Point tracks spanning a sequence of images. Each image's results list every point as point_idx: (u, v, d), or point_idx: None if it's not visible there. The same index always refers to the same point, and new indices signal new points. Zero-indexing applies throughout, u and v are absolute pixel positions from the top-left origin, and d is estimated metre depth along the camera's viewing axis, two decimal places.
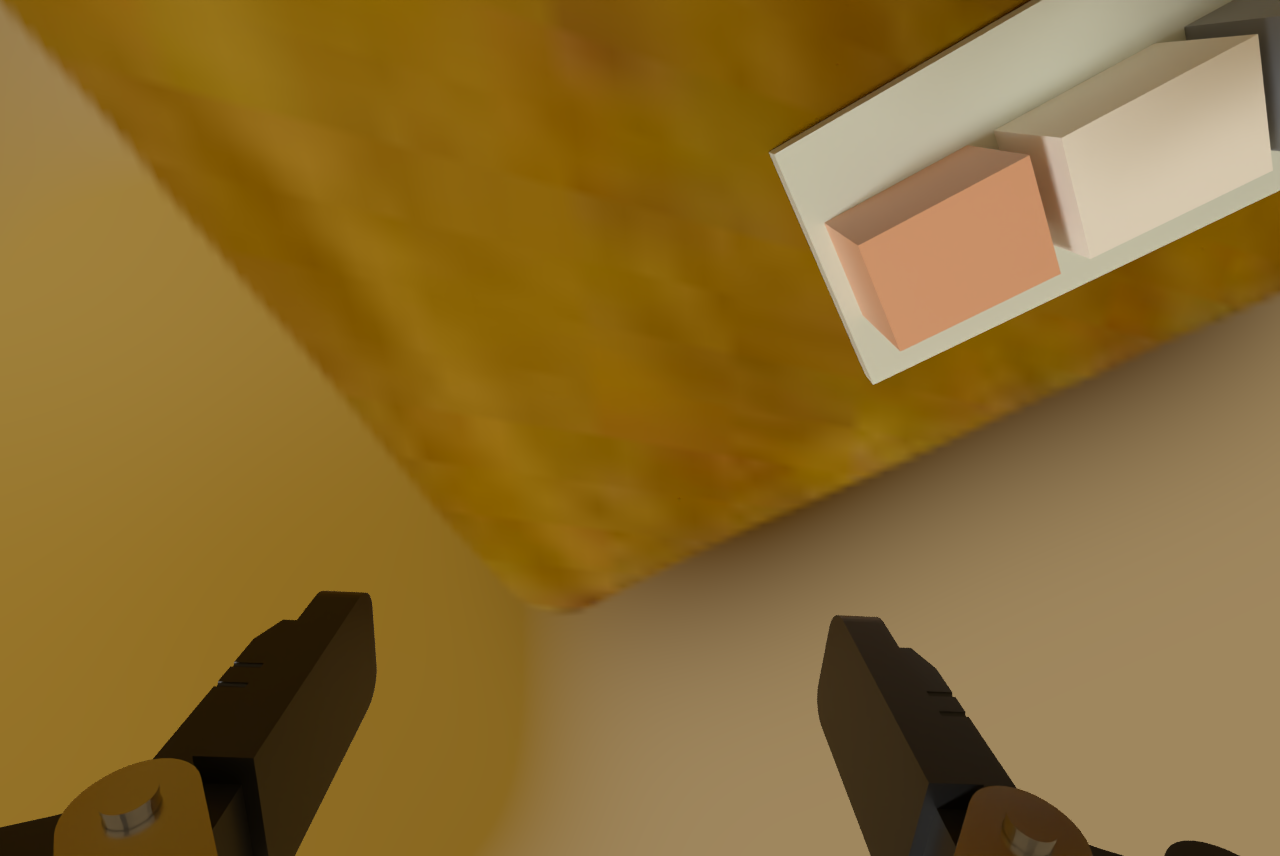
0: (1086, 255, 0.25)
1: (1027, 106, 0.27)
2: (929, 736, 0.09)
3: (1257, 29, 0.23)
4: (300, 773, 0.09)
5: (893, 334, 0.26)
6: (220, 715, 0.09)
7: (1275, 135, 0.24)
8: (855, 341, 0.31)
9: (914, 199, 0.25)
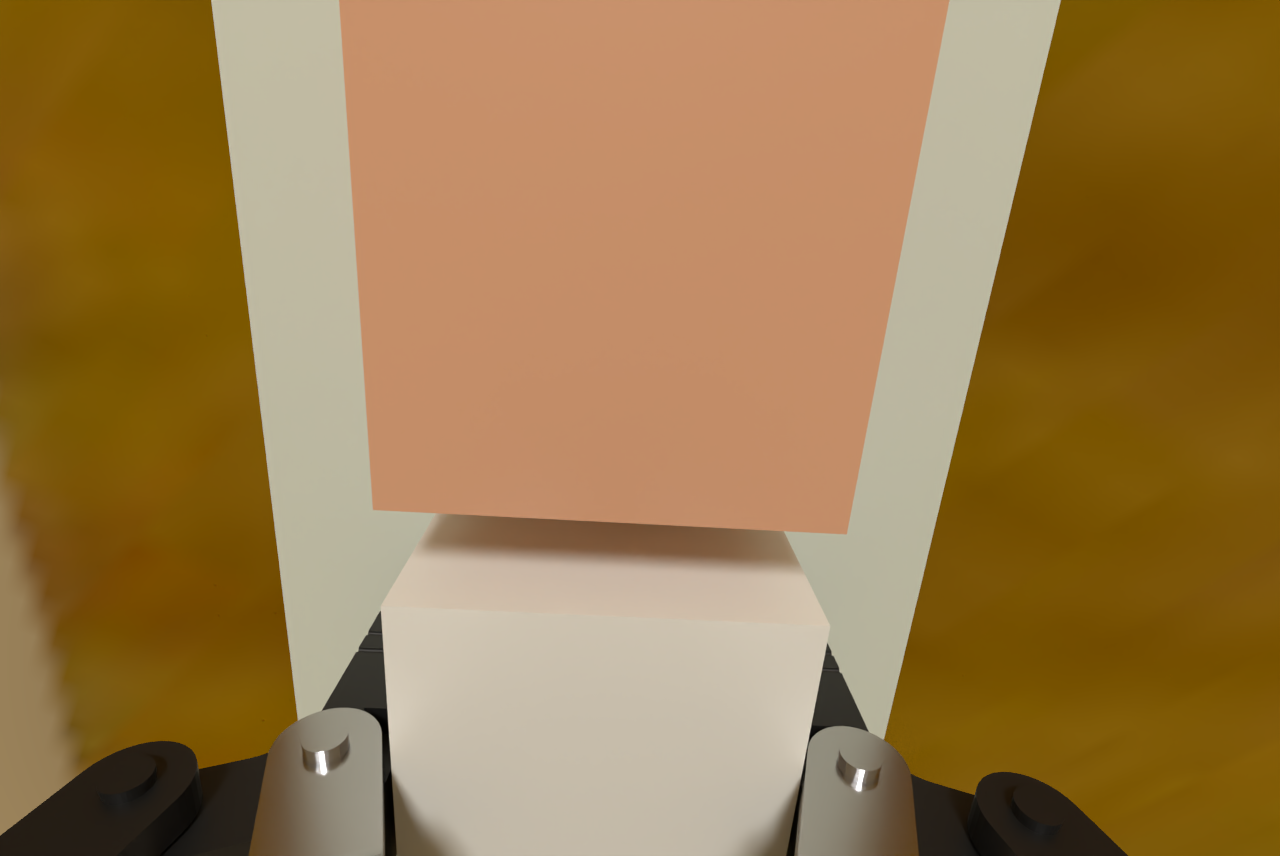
0: (396, 594, 0.07)
1: None
2: None
3: None
4: None
5: None
6: (368, 676, 0.09)
7: None
8: None
9: None
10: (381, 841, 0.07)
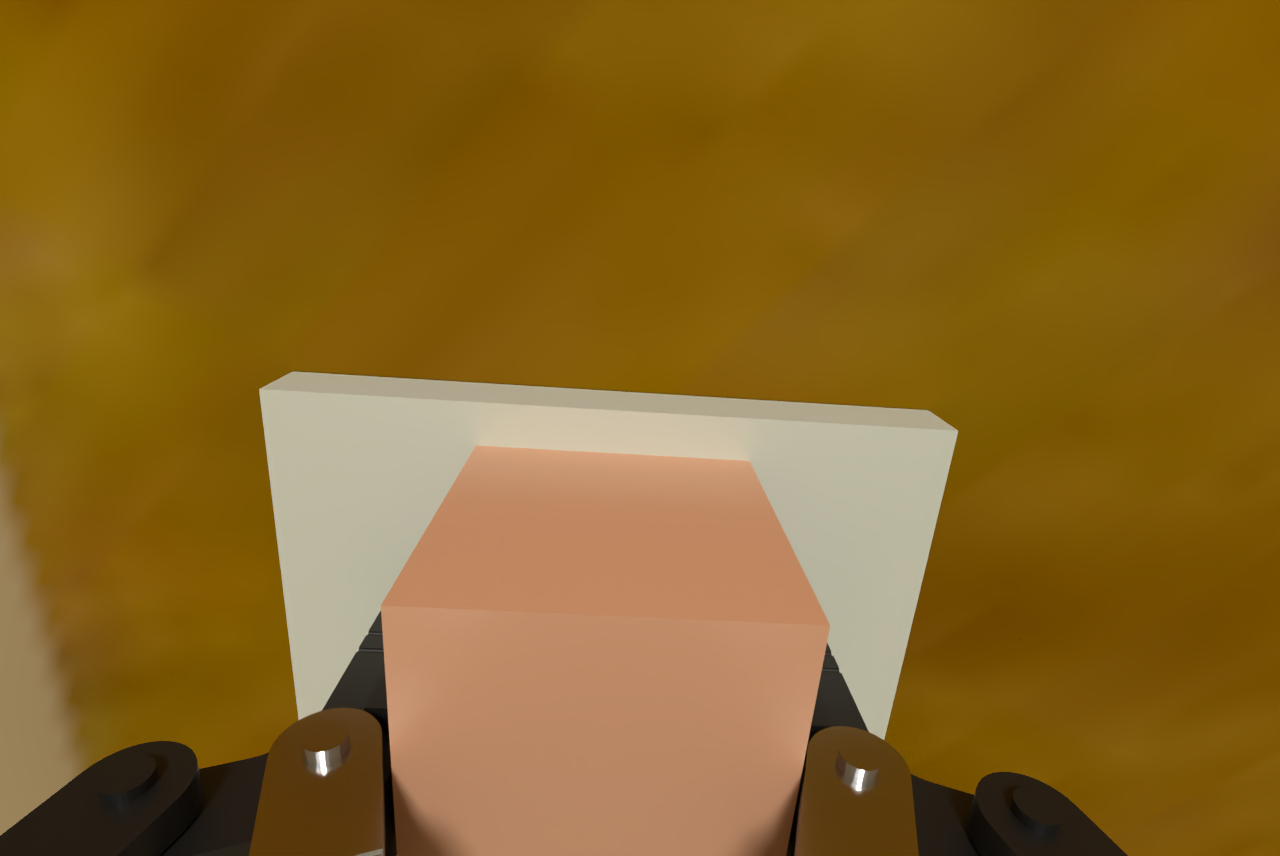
0: None
1: None
2: None
3: None
4: None
5: (458, 605, 0.07)
6: (369, 676, 0.09)
7: None
8: (413, 399, 0.11)
9: None
10: (382, 841, 0.07)
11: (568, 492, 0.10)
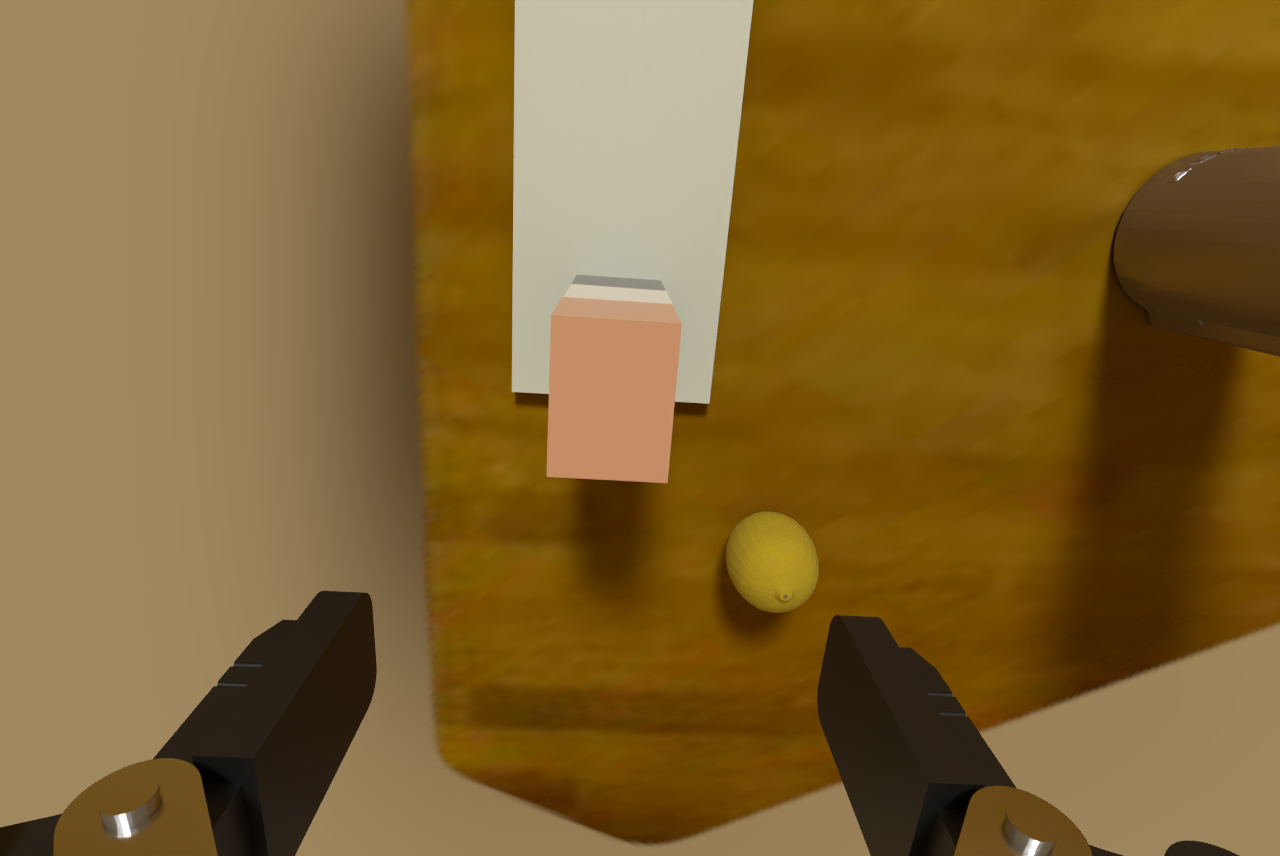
0: (565, 296, 0.29)
1: (672, 167, 0.36)
2: (929, 736, 0.09)
3: (656, 287, 0.35)
4: (300, 773, 0.09)
5: (572, 316, 0.24)
6: (220, 715, 0.09)
7: (583, 282, 0.34)
8: None
9: None
10: None
11: (601, 305, 0.27)
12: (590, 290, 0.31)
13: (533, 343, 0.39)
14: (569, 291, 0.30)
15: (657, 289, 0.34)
